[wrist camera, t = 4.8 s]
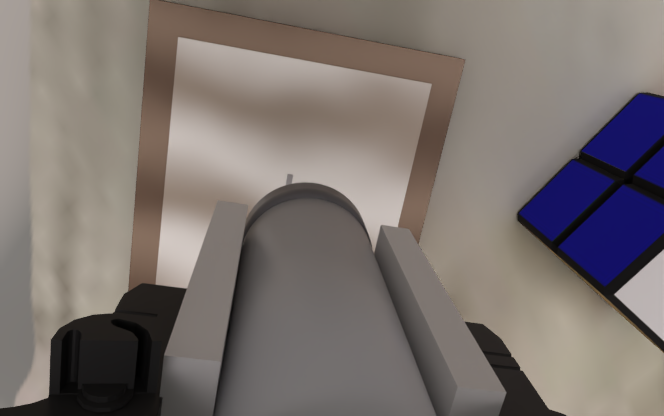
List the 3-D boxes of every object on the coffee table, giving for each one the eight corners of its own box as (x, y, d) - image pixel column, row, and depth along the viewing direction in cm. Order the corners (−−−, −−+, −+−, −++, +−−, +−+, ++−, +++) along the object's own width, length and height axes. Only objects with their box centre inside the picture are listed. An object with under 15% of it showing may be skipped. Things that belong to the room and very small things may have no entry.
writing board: (154, -1, 27) (148, -2, 26) (459, 58, 29) (466, 60, 28) (126, 370, 34) (120, 382, 33) (374, 395, 36) (377, 408, 35)
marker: (317, 154, 15) (454, 684, 3) (392, 251, 16) (698, 903, 4) (213, 231, 15) (-14, 946, 4) (292, 320, 16) (320, 1079, 5)
